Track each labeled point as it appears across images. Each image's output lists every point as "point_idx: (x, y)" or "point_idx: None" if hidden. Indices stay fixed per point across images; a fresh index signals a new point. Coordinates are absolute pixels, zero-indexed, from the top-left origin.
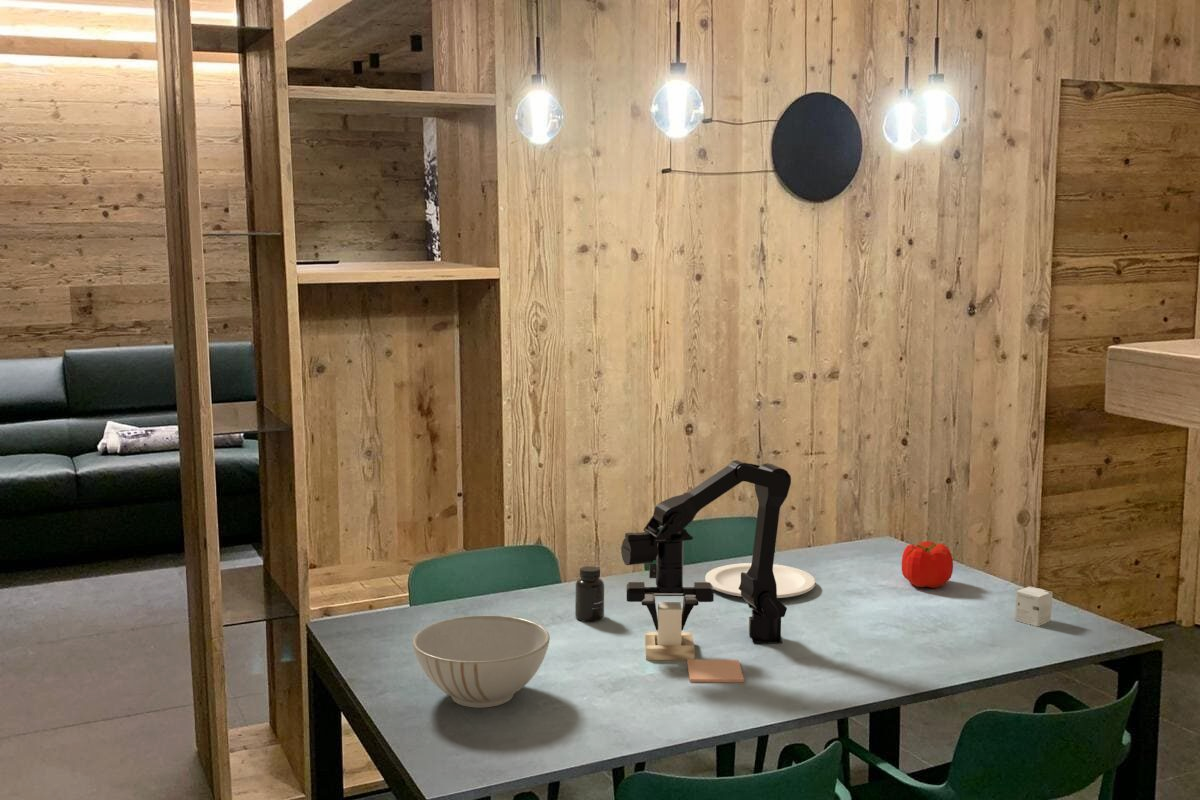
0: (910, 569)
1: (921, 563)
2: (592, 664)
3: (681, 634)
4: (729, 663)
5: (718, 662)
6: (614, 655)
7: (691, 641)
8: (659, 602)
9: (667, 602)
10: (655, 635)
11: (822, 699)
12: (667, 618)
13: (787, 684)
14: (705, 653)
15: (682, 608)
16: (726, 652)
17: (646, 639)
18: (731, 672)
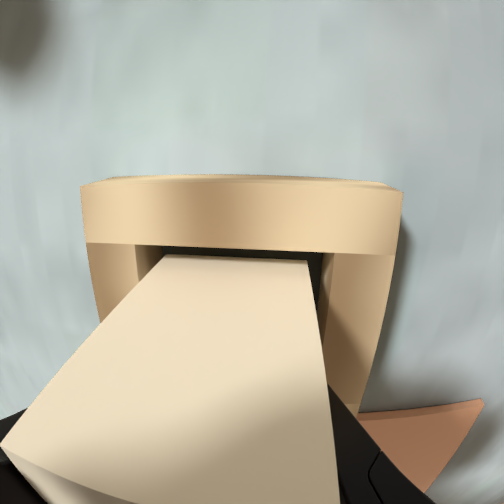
0: None
1: None
2: (15, 375)
3: (323, 238)
4: (443, 434)
5: (415, 433)
6: (35, 322)
7: (363, 356)
8: (20, 460)
9: (114, 499)
10: (141, 243)
11: (497, 495)
12: None
13: (493, 473)
14: (412, 329)
15: (343, 499)
16: (491, 314)
17: (102, 314)
18: (415, 477)
